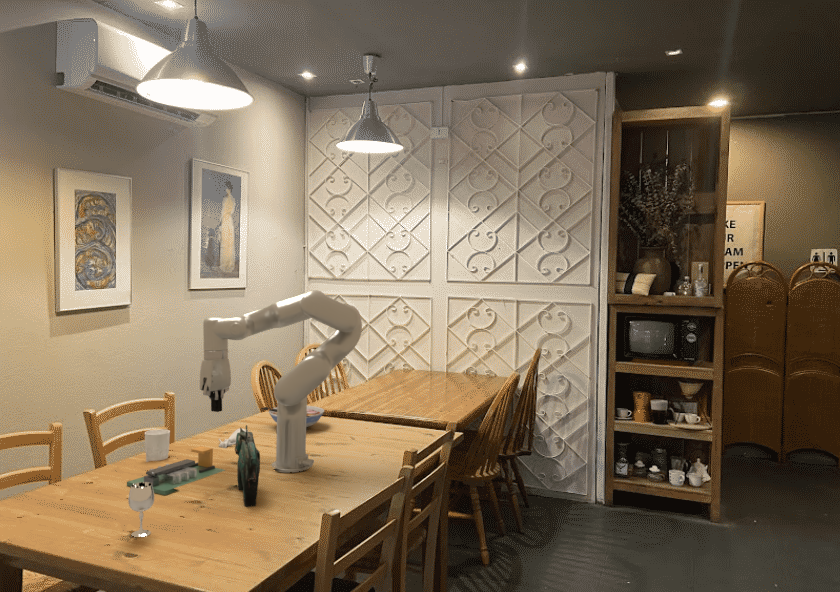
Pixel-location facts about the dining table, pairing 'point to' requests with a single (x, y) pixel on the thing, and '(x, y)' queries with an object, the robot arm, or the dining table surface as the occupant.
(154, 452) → the white cup
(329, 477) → the dining table surface
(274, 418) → the ramen bowl
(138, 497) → the wineglass
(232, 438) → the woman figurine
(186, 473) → the heat sink
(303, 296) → the robot arm
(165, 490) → the circuit board
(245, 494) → the dark green sculpted piece
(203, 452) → the catch
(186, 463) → the dark grey flat bar
